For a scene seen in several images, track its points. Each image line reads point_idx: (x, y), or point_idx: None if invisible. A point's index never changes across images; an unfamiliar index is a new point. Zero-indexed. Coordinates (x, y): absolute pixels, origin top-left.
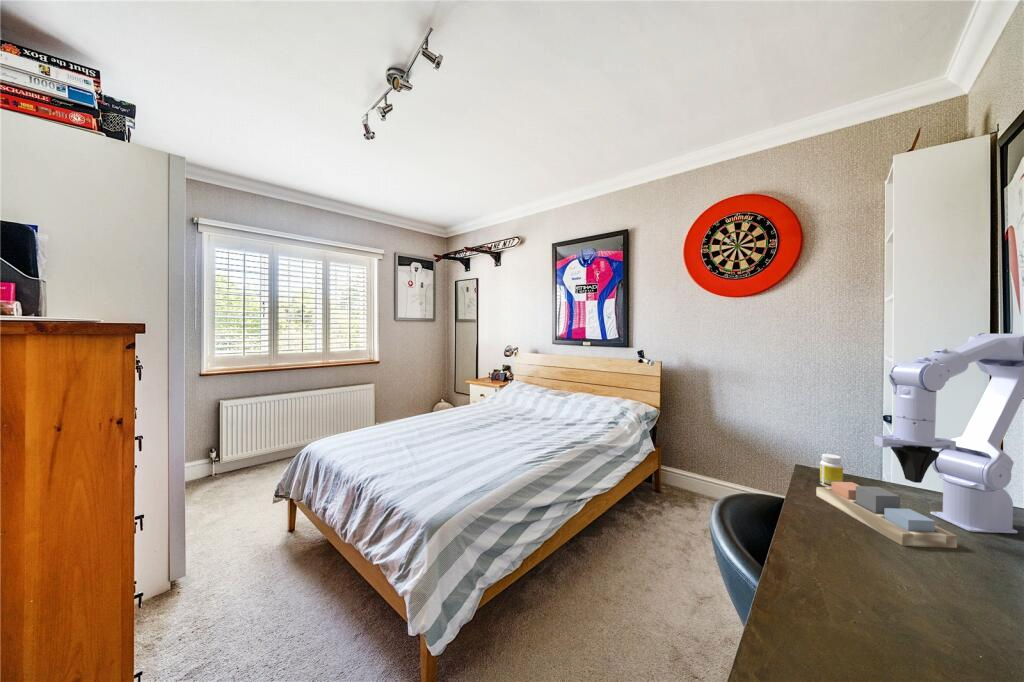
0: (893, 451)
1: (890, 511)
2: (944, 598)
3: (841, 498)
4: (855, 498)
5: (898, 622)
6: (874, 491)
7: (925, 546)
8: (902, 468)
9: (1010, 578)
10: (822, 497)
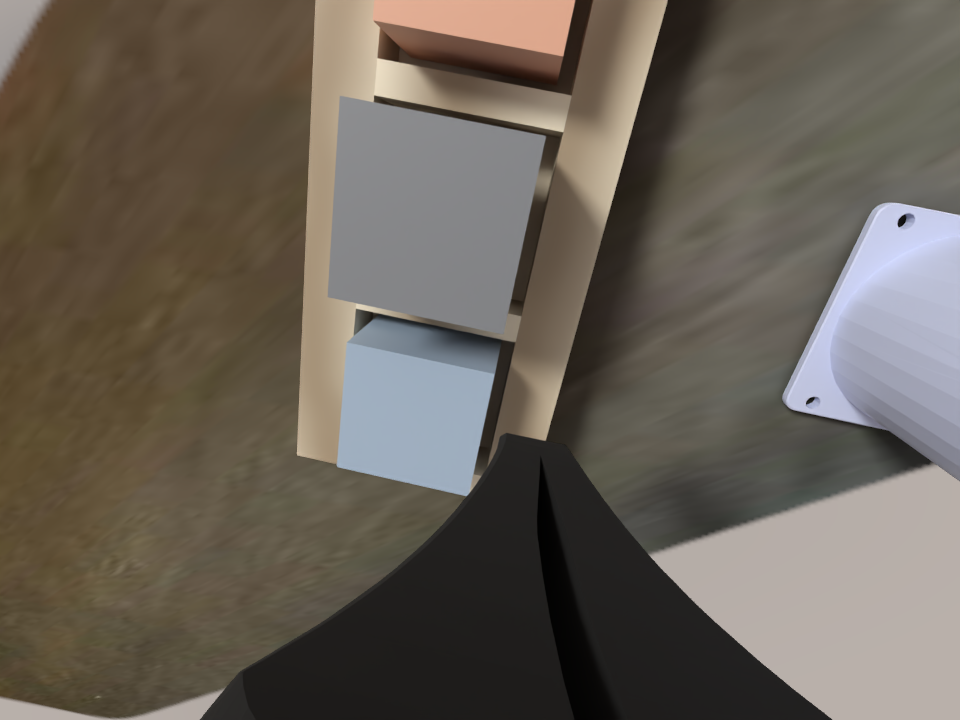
0: (315, 629)
1: (345, 376)
2: (184, 609)
3: (344, 33)
4: (447, 51)
5: (13, 628)
6: (396, 226)
7: None
8: (480, 482)
9: None
10: None
